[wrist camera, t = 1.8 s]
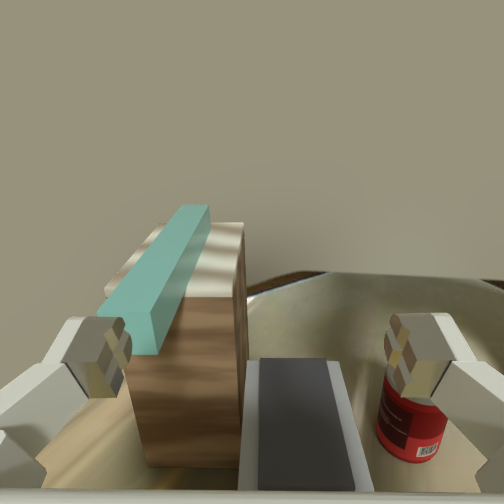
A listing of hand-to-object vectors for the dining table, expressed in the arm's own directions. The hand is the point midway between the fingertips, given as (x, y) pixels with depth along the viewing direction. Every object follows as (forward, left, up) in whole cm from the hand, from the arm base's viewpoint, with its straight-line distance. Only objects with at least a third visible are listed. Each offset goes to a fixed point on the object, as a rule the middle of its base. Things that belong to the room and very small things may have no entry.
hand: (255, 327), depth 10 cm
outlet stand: (-20, -21, -35) cm, 45 cm away
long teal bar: (-14, -18, -9) cm, 25 cm away
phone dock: (-13, -3, -35) cm, 38 cm away
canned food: (-29, +6, -36) cm, 46 cm away
